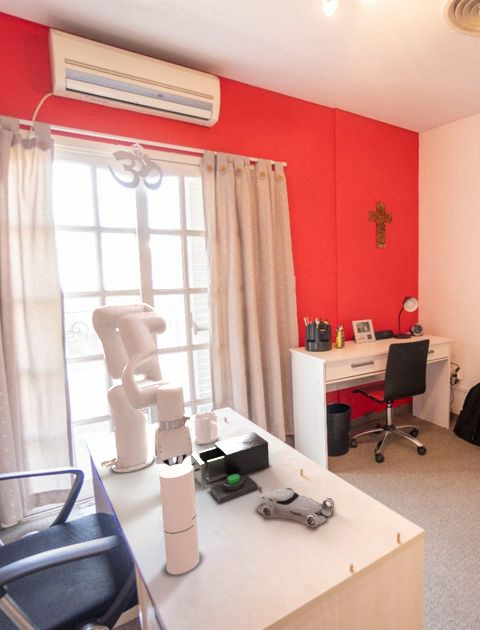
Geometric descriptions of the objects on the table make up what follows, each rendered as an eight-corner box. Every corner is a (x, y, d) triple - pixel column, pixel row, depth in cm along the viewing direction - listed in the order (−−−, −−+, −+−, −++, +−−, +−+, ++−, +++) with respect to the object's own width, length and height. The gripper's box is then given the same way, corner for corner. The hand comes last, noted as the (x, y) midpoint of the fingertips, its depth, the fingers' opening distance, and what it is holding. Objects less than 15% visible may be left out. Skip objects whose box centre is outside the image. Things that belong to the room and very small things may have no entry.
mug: (191, 441, 175) (189, 416, 174) (211, 434, 182) (210, 410, 181) (205, 449, 168) (204, 422, 167) (226, 441, 175) (225, 416, 174)
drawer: (188, 491, 136) (186, 468, 135) (178, 478, 144) (177, 456, 143) (243, 472, 148) (241, 451, 147) (231, 461, 156) (230, 441, 155)
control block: (220, 503, 131) (219, 493, 130) (210, 491, 137) (210, 481, 137) (257, 489, 139) (257, 479, 139) (247, 479, 145) (246, 469, 145)
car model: (317, 530, 118) (317, 514, 117) (248, 513, 126) (247, 497, 125) (337, 508, 128) (337, 493, 128) (272, 494, 136) (271, 479, 135)
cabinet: (228, 480, 144) (226, 454, 143) (216, 467, 153) (214, 443, 152) (269, 466, 154) (268, 442, 153) (255, 455, 163) (254, 431, 162)
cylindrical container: (204, 553, 108) (198, 463, 105) (190, 574, 101) (183, 477, 98) (176, 554, 108) (169, 463, 105) (160, 574, 101) (152, 478, 98)
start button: (230, 485, 135) (229, 480, 135) (226, 481, 138) (226, 476, 138) (241, 482, 138) (241, 477, 137) (237, 477, 140) (237, 473, 140)
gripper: (193, 414, 144) (197, 464, 146) (142, 425, 133) (147, 479, 136) (200, 420, 138) (203, 472, 140) (147, 432, 128) (152, 488, 130)
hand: (176, 475), depth 138 cm, fingers closed
